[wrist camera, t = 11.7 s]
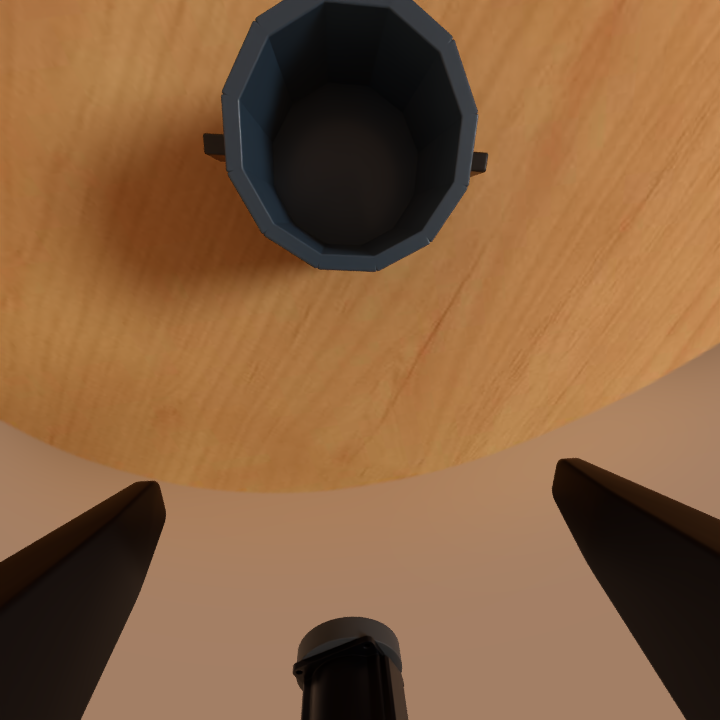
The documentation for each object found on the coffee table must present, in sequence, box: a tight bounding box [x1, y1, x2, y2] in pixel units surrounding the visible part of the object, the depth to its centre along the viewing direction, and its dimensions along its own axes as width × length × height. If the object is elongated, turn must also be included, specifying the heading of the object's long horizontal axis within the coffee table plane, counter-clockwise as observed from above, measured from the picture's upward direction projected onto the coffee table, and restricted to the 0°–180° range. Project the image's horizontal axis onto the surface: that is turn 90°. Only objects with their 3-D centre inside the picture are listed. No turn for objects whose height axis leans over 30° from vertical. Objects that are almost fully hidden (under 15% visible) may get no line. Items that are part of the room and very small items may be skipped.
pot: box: [203, 0, 488, 272], centre depth 14 cm, size 7×9×7 cm
